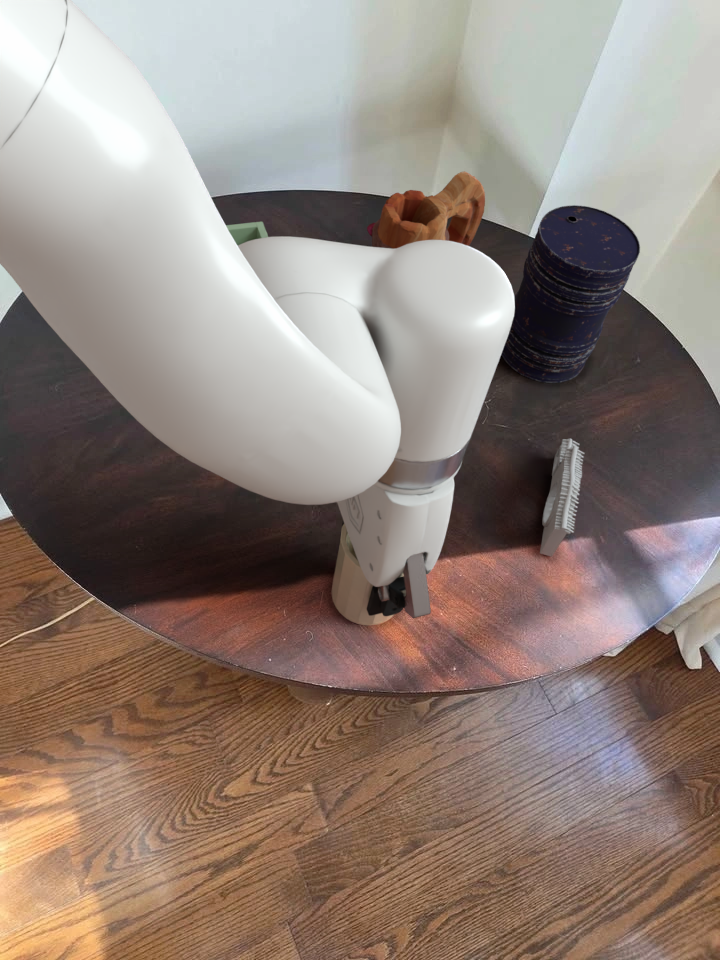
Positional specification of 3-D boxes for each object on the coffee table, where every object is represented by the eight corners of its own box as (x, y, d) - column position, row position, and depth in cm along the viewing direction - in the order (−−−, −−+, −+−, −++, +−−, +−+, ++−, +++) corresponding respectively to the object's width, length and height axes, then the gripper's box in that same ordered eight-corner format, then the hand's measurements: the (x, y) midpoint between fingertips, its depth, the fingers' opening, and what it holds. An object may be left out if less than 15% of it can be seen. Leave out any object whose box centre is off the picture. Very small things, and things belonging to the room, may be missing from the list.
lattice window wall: (552, 455, 77) (572, 417, 72) (570, 460, 76) (591, 422, 72) (535, 556, 70) (556, 521, 65) (555, 561, 70) (577, 527, 65)
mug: (388, 358, 82) (411, 240, 70) (338, 313, 85) (352, 193, 73) (482, 304, 88) (519, 188, 76) (432, 264, 91) (460, 147, 79)
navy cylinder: (604, 370, 84) (662, 259, 72) (529, 394, 81) (578, 282, 69) (553, 309, 89) (599, 196, 77) (480, 330, 86) (518, 215, 74)
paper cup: (343, 633, 63) (355, 581, 56) (322, 570, 66) (331, 513, 59) (411, 615, 65) (431, 563, 58) (388, 555, 68) (404, 498, 61)
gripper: (310, 342, 51) (298, 494, 66) (398, 564, 42) (361, 683, 57) (415, 326, 53) (381, 477, 68) (520, 535, 44) (454, 657, 59)
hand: (372, 570), depth 62 cm, fingers closed on paper cup, 6 cm apart
